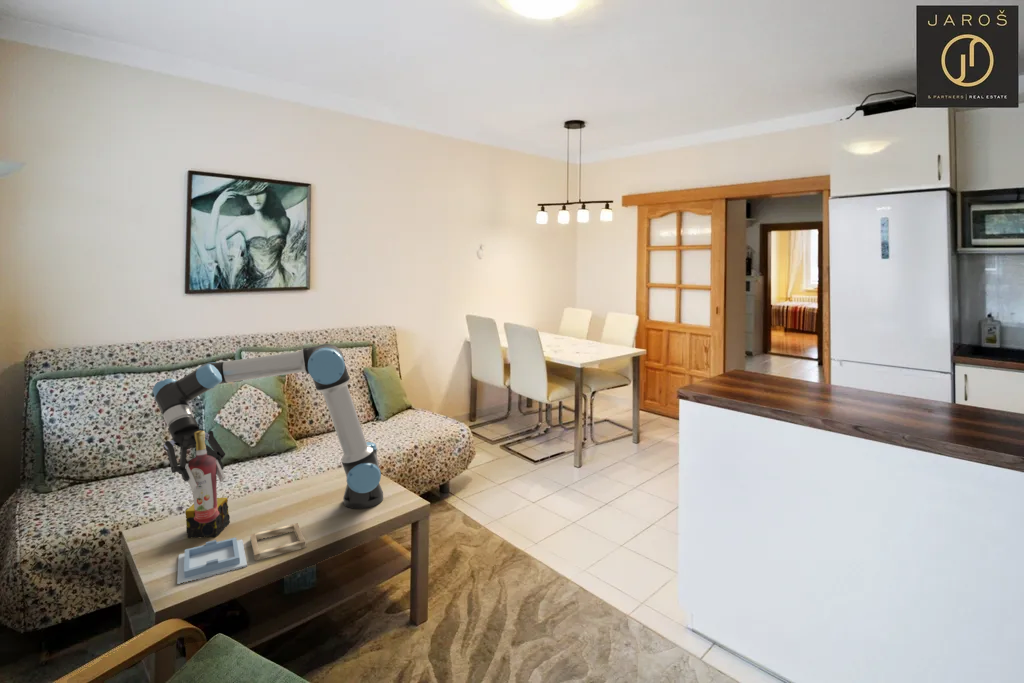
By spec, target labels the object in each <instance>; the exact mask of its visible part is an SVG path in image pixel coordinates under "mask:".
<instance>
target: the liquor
mask: <svg viewBox="0 0 1024 683" xmlns="http://www.w3.org/2000/svg"><path fill="white" fill-rule="evenodd" d="M205 433H206V432H205V430H200V431H196V432H194V434H195V440H196V448H195V457H193V458H191V459H190V460H189V461H188V462H187V468H188V467H189V468H190V470H191V473H192V475H193V477H194V479H195V482H196V484H197V487H196V489H195V490H194V491H192V490H191V493H192V499H193V504H194V509H195V517H194V520H195V521H197V522H199V523H208V522H211V521H213V520H215V519H216V517H217V516H218V515H219V514H220V513H219V511H218V507H217V498H218V490H217V478H218V476H217V474H216V458H214V457H213V456H209V455H207V451H206V445H207V444H206V442H205V441H206V439H205ZM205 444H206V445H205Z"/></svg>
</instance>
